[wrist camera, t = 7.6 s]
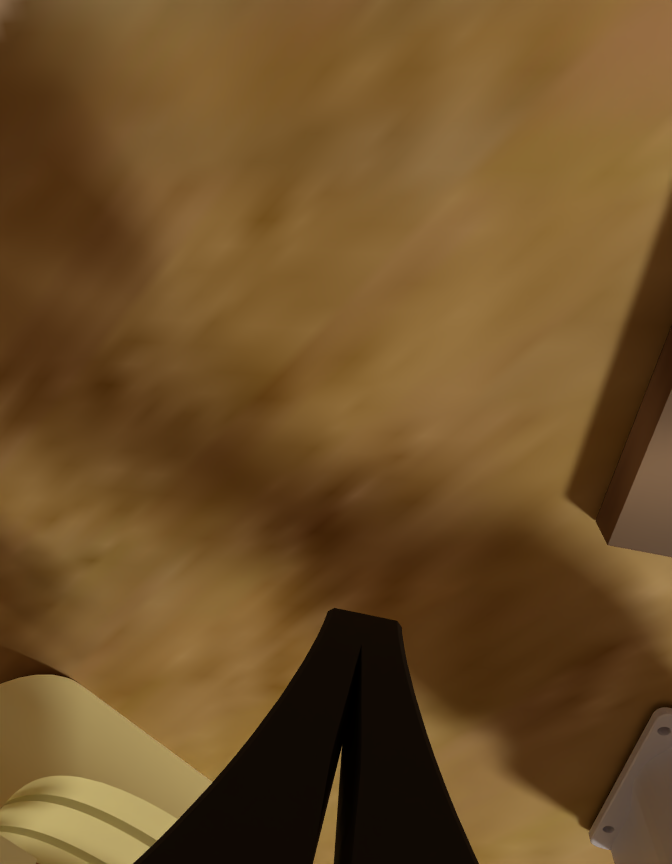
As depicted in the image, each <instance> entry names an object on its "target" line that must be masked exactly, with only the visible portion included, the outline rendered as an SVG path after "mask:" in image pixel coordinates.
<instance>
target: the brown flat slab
mask: <svg viewBox="0 0 672 864" xmlns="http://www.w3.org/2000/svg"><path fill="white" fill-rule="evenodd" d="M596 523H597V525H598V527H599V529H600V531H601V533H602V535H603V537H604V539H605V541H606V543H607V545H610V546H615V547H620V548H626V549H631V550H636V551H642V552H647V553H652V554H658V555H663V556H668V557H672V326H671V329H670V331H669V334H668V337H667V339H666V342H665V344H664V347H663V349H662V352H661V355H660V357H659V360H658V362H657V365H656V367H655V370H654V373H653V375H652V378H651V380H650V383H649V385H648V388H647V391H646V393H645V396H644V398H643V401H642V403H641V406H640V408H639V411H638V414H637V416H636V419H635V421H634V424H633V426H632V429H631V432H630V434H629V437H628V439H627V442H626V444H625V447H624V450H623V452H622V455H621V457H620V460H619V462H618V465H617V467H616V470H615V473H614V475H613V478H612V480H611V483H610V485H609V488H608V491H607V493H606V496H605V498H604V501H603V503H602V506H601V509H600V511H599V514H598V516H597V519H596Z"/></svg>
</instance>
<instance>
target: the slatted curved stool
mask: <svg viewBox="0 0 672 864" xmlns="http://www.w3.org/2000/svg"><path fill="white" fill-rule="evenodd" d="M211 783H212V781H211V780H209V779H208V778H207V777H205V776H204V775H203V774H201V773H200V772H198V771H197V770H196V769H194V768H193V767H192V766H190V765H189V764H188V763H186V762H185V761H184V760H182V759H181V758H179V757H178V756H177V755H175V754H174V753H173V752H171V751H170V750H169V749H167V748H166V747H165V746H163V745H162V744H161V743H159V742H158V741H156V740H155V739H154V738H152V737H151V736H150V735H148V734H147V733H146V732H144V731H143V730H142V729H140V728H139V727H137V726H136V725H135V724H133V723H132V722H131V721H129V720H128V719H127V718H125V717H124V716H123V715H121V714H120V713H118V712H117V711H116V710H114V709H113V708H112V707H110V706H109V705H108V704H106V703H105V702H104V701H102V700H101V699H99V698H98V697H97V696H95V695H94V694H93V693H91V692H90V691H89V690H87V689H86V688H85V687H83V686H82V685H80V684H79V683H77V682H76V681H74V680H71V679H69V678H66V677H61V676H57V675H31V676H26V677H20V678H16V679H13V680H10V681H7V682H4V683H1V684H0V864H36V862H37V863H39V864H133V863H134V862H135V861H136V860H137V859H138V858H139V857H140V856H142V855H143V854H144V853H145V852H146V851H147V850H148V849H149V848H150V847H151V846H152V845H153V844H154V843H155V842H156V841H157V840H158V839H159V838H160V837H161V836H162V835H163V834H164V833H165V832H166V831H167V830H168V829H169V828H170V827H171V826H172V825H173V824H174V823H175V822H176V821H177V820H178V819H179V818H180V817H181V816H182V815H183V814H184V813H185V812H186V810H187V809H188V808H189V807H190V806H191V805H192V804H193V803H194V802H195V801H196V800H197V799H198V798H199V797H200V795H201V794H202V793H203V792H204V791H205V790H206V789H207V788H208V787H209V786H210V785H211Z"/></svg>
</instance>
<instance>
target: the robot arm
mask: <svg viewBox="0 0 672 864" xmlns="http://www.w3.org/2000/svg"><path fill="white" fill-rule="evenodd" d="M341 747H342V755H341V769H340V783H339V797H338V812H337V826H336V840H335V855H334V864H479V863H478V861H477V859H476V856H475V854H474V852H473V850H472V848H471V845H470V843H469V841H468V839H467V836H466V834H465V832H464V829H463V827H462V825H461V823H460V820H459V818H458V816H457V813H456V811H455V808H454V806H453V803H452V801H451V799H450V796H449V793H448V791H447V788H446V786H445V783H444V781H443V778H442V775H441V772H440V770H439V767H438V764H437V762H436V759H435V756H434V753H433V750H432V747H431V744H430V742H429V739H428V736H427V733H426V729H425V726H424V723H423V719H422V716H421V713H420V710H419V706H418V703H417V700H416V696H415V693H414V689H413V685H412V681H411V677H410V673H409V669H408V664H407V660H406V655H405V649H404V643H403V637H402V627H401V626H400V624H399V623H398V622H397V621H395V620H390V619H385V618H380V617H375V616H371V615H366V614H361V613H356V612H351V611H346V610H341V609H337V608H333V609H332V610H330V611H328V612H327V615H326V618H325V621H324V623H323V625H322V628H321V630H320V632H319V634H318V636H317V638H316V640H315V642H314V644H313V645H312V647H311V649H310V651H309V652H308V654H307V656H306V658H305V659H304V661H303V663H302V664H301V666H300V667H299V669H298V671H297V672H296V674H295V675H294V677H293V678H292V680H291V681H290V683H289V684H288V686H287V688H286V689H285V691H284V692H283V694H282V695H281V697H280V698H279V699H278V701H277V702H276V703H275V705H274V706H273V708H272V709H271V710H270V712H269V713H268V714H267V716H266V717H265V718H264V720H263V721H262V722H261V724H260V725H259V726H258V728H257V729H256V730H255V732H254V733H253V734H252V736H251V737H250V738H249V740H248V741H247V742H246V743H245V745H244V746H243V747H242V748H241V749H240V751H239V752H238V753H237V754H236V756H235V757H234V758H233V759H232V760H231V762H230V763H229V764H228V765H227V766H226V767H225V769H224V770H223V771H222V772H221V773H220V774H219V775H218V777H217V778H216V779H215V780H214V781H213V782H212V783H211V785H210V786H209V787H208V788H207V789H206V790H205V791H204V792H203V793H202V794H201V795H200V797H199V798H198V799H197V800H196V801H195V802H194V803H193V804H192V805H191V806H190V807H189V808H188V809H187V810H186V812H185V813H184V814H183V815H182V816H181V817H180V818H179V819H178V820H177V821H176V822H175V823H174V824H173V825H172V826H171V827H170V828H169V829H168V830H167V831H166V832H165V833H164V834H163V835H162V836H161V837H160V838H159V839H158V840H157V841H156V842H155V843H154V844H153V845H152V846H151V847H150V848H149V849H148V850H147V851H146V852H145V853H144V854H143V855H142V856H140V857H139V858H138V859H137V860H136V861H135V862H134V863H133V864H313V861H314V857H315V853H316V849H317V845H318V841H319V836H320V832H321V828H322V824H323V820H324V816H325V812H326V808H327V804H328V800H329V796H330V792H331V788H332V784H333V780H334V776H335V772H336V768H337V764H338V760H339V756H340V751H341ZM589 837H590V841H591V843H592V844H593V845H595V846H597V847H600V848H604V849H608V850H611V852H612V856H613V859H614V863H615V864H672V708H668V707H663V708H659V709H657V710H656V711H655V712H654V713H653V714H652V716H651V718H650V720H649V722H648V724H647V725H646V727H645V729H644V731H643V733H642V735H641V736H640V738H639V740H638V742H637V744H636V746H635V748H634V749H633V751H632V753H631V755H630V757H629V759H628V761H627V762H626V764H625V766H624V768H623V770H622V772H621V773H620V775H619V777H618V779H617V781H616V783H615V785H614V786H613V788H612V790H611V792H610V794H609V796H608V798H607V799H606V801H605V803H604V805H603V807H602V809H601V811H600V812H599V814H598V816H597V818H596V820H595V822H594V823H593V825H592V827H591V829H590V831H589Z"/></svg>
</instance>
